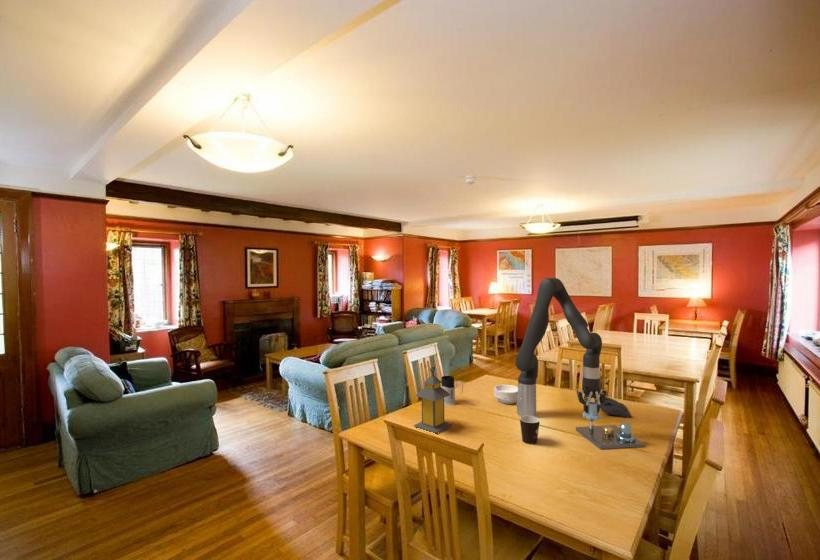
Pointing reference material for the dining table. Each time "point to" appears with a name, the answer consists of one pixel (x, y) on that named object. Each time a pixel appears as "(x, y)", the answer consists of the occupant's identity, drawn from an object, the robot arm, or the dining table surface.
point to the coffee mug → (529, 429)
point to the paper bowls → (506, 393)
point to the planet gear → (592, 411)
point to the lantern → (433, 405)
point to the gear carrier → (610, 436)
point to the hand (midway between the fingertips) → (591, 412)
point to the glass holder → (449, 389)
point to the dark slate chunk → (614, 408)
